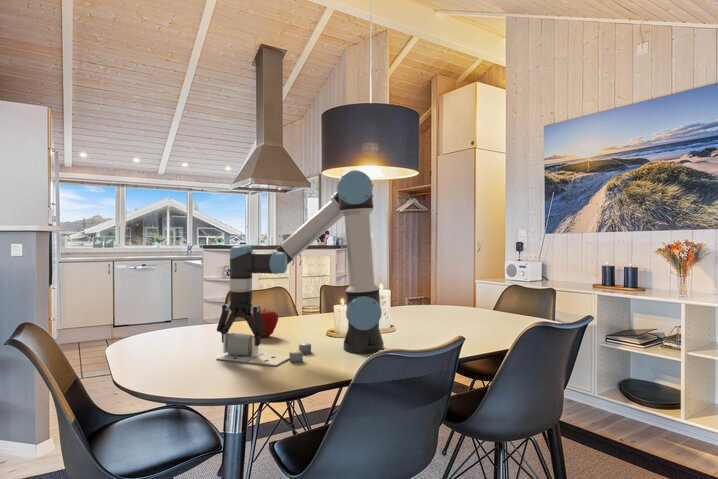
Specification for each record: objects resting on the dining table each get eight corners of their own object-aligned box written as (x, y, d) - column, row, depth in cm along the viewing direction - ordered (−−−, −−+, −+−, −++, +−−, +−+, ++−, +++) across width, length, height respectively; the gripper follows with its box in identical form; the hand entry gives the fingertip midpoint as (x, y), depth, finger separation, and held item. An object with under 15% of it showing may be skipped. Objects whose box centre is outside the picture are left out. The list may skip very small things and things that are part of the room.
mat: (292, 357, 154) (292, 356, 154) (276, 366, 143) (276, 365, 143) (236, 351, 162) (236, 350, 162) (216, 360, 151) (216, 358, 151)
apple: (283, 336, 187) (283, 307, 187) (265, 341, 178) (265, 311, 178) (264, 333, 193) (264, 305, 193) (245, 337, 184) (245, 308, 184)
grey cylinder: (250, 358, 151) (250, 335, 151) (226, 357, 151) (226, 335, 151) (258, 350, 162) (258, 329, 162) (235, 350, 162) (236, 329, 162)
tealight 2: (313, 352, 162) (313, 343, 162) (307, 355, 158) (307, 345, 158) (302, 351, 164) (302, 342, 164) (296, 353, 160) (296, 344, 160)
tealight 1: (304, 360, 151) (304, 350, 151) (298, 364, 147) (299, 354, 147) (293, 359, 153) (293, 349, 153) (287, 362, 148) (287, 352, 148)
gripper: (276, 290, 154) (275, 353, 154) (219, 287, 161) (219, 348, 162) (264, 293, 147) (264, 359, 147) (205, 290, 154) (205, 353, 155)
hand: (240, 353), depth 154 cm, fingers open, 11 cm apart
